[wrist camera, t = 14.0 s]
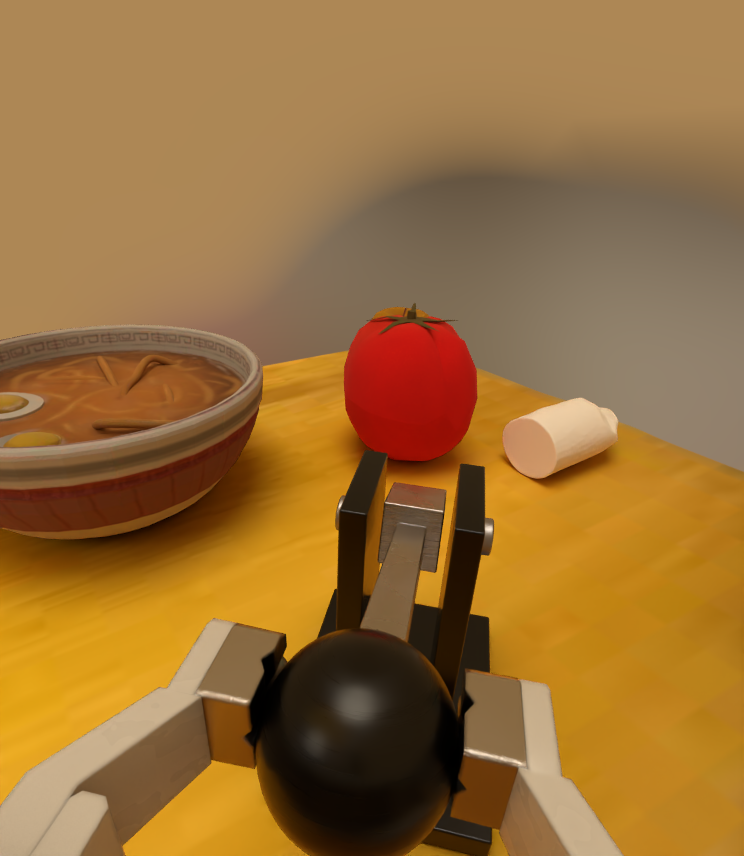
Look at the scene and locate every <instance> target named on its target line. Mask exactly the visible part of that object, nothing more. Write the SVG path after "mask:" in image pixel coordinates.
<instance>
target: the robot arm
mask: <svg viewBox="0 0 744 856" xmlns="http://www.w3.org/2000/svg"><path fill="white" fill-rule="evenodd" d="M286 647H287V643H286V634H283V633H279V632H275V631H270V630H266V629H262V628H257V627H253V626H248V625H244V624H240V623H235V622H230V621H225V620H221V619H216V618H213V619H212V620H211V621H210V622H209V623H208V624H207V625H206V626H205V628H204V629H203V631H202V633H201V634H200V636H199V637H198V639H197V641H196V642H195V644H194V645H193V647H192V649H191V650H190V652H189V653H188V655H187V657H186V658H185V660H184V661H183V663H182V664H181V666H180V668H179V669H178V671H177V672H176V674H175V676H174V677H173V679H172V680H171V682H170V684H169V685H168V687H167V688H161V687H159V688H157V689H156V690H154V691H153V692H151V693H149V694H148V695H146V696H145V697H143V698H142V699H140V700H138V701H137V702H135V703H134V704H132V705H131V706H129V707H127V708H126V709H124V710H123V711H121V712H120V713H118V714H117V715H115V716H113V717H112V718H110V719H109V720H107V721H106V722H104V723H102V724H101V725H99V726H98V727H96V728H95V729H93V730H91V731H90V732H88V733H87V734H85V735H84V736H82V737H81V738H79V739H77V740H76V741H74V742H73V743H71V744H70V745H68V746H66V747H65V748H63V749H62V750H60V751H59V752H57V753H55V754H54V755H52V756H51V757H49V758H48V759H46V760H45V761H43V762H41V763H40V764H38V765H37V766H35V767H34V768H32V769H30V770H29V771H27V772H26V773H25V774H24V776H23V777H22V778H21V780H20V781H19V782H18V783H17V785H16V786H15V787H14V789H13V790H12V791H11V792H10V794H9V795H8V796H7V798H6V799H5V800H4V801H3V803H2V804H1V805H0V856H126V855H125V852H124V849H123V845H124V844H125V843H126V842H127V841H128V840H129V839H130V838H131V837H132V836H134V835H135V834H136V833H137V832H138V831H139V830H140V829H141V828H142V827H143V826H144V825H145V824H146V823H148V822H149V821H150V820H151V819H152V818H153V817H154V816H155V815H156V814H157V813H158V812H159V811H160V810H162V809H163V808H164V807H165V806H166V805H167V804H168V803H169V802H170V801H171V800H172V799H173V798H174V797H175V796H177V795H178V794H179V793H180V792H181V791H182V790H183V789H184V788H185V787H186V786H187V785H188V784H189V783H191V782H192V781H193V780H194V779H195V778H196V777H197V776H198V775H199V774H200V773H201V772H202V771H203V770H205V769H206V768H207V767H208V766H209V765H210V764H211V760H214V761H219V762H224V763H228V764H233V765H238V766H243V767H247V768H252V769H255V767H256V765H257V764H256V737H257V729H258V723H259V718H260V715H261V711H262V708H263V705H264V701H265V699H266V697H267V695H268V692H269V690H270V688H271V686H272V684H273V682H274V681H275V679H276V678H277V676H278V675H279V673H280V672H281V670H282V669H283V667H284V666H285V665H286V664H287V661H286V659H285V658H284V657H283V654H284V652H285V649H286ZM456 715H457V720H458V724H459V735H460V740H459V766H458V772H457V777H456V782H455V786H454V790H453V793H452V796H451V816H450V817H454V818H457V819H461V820H465V821H468V822H472V823H476V824H479V825H483V826H486V827H490V828H494V829H497V830H500V831H499V834H500V836H501V838H502V841H503V843H504V845H505V847H506V849H507V852H508V854H509V856H624V855H623V854H622V853H621V851H620V850H619V848H618V847H617V845H616V844H615V842H614V841H613V839H612V838H611V836H610V835H609V834H608V832H607V831H606V829H605V828H604V826H603V825H602V823H601V822H600V820H599V819H598V818H597V816H596V815H595V813H594V812H593V810H592V809H591V807H590V806H589V804H588V803H587V802H586V800H585V799H584V797H583V796H582V794H581V793H580V791H579V790H578V788H577V787H576V785H575V784H574V783H573V781H572V780H571V779H568V778H564V777H562V771H561V764H560V757H559V750H558V743H557V736H556V729H555V722H554V715H553V708H552V700H551V693H550V689H549V687H548V686H547V684H542V683H537V682H532V681H527V680H522V679H519V680H518V678H515V677H509V676H504V675H498V674H493V673H488V672H482V671H477V670H471V669H466V668H465V670H464V674H463V679H462V691H461V696H460V697H459V700H458V706H457V713H456Z"/></svg>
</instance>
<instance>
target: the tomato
mask: <svg viewBox="0 0 744 856" xmlns="http://www.w3.org/2000/svg"><path fill="white" fill-rule="evenodd" d="M445 321H453V320H441V319H439V318H434V317H425V318H424V317H417V314H416V304H413V306H412V309H411V310H409V311H408V314H407V316H406V317H403V316H401V315H393V316H382V317H379V318H376V319H372V320H371V321H370V322H368V323H367V324H366V325H365V326H364V327H362V328H361V329H360V330H359V331H358V333H357V335H356V337H355V339H354V340H353V342H352V344H351V346H350V349H349V353H348V356H347V359H346V363H345V366H344V391H345V406H346V411H347V414H348V416H349V419H350V421H351V423H352V425H353V427H354V428H355V430H356V432H357V434H358V436H359V438H360V439H361V440H362V441H363V443H364V444H365V445H366V446H367V447H369V448H371V449H372V450H374V451H376V452H384V453H387V454H388V458H390V459H392V460H408V461H428V460H431V459H434V458H437V457H440V456H442V455H444V454H446V453H447V452H449V451H451V450H452V449H453V448H454V447H455V446H456V445H457V444H458V443H459V442H460V441H461V440H462V438H463V437H464V435H465V434H466V432H467V430H468V428H469V425H470V421H471V418H472V414H473V411H474V408H475V404H476V401H477V371H476V368H475V365H474V363H473V360H472V358H471V356H470V354H469V351H468V348H467V346H466V343H465V341H464V340H462V339H460V338H459V336H458V335H457V333H456V332H455V330H454V328H453V327H452V326H450V325H449V324H447V323H446V322H445ZM454 321H455V320H454Z"/></svg>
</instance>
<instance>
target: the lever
mask: <svg viewBox="0 0 744 856" xmlns="http://www.w3.org/2000/svg"><path fill="white" fill-rule="evenodd" d="M445 501H446V490H443V489H436V488H429V487H423V486H416V485H409V484H403V483H396V482H395V483H394V484H393V486H392V488H391V490H390V492H389V494H388V496H387V498H386V500H385V502H384V509H383V518H382V527H381V535H380V544H379V553H378V563H383V564H382V567H381V569H380V572H379V575H378V578H377V581H376V583H375V586H374V589H373V592H372V595H371V597H370V600H369V603H368V606H367V609H366V611H365V614H364V617H363V620H362V623H361V625H360V628H353V629H345V630H339V631H335V632H332V633H329V634H327V635H325V636H322V637H320V638H318V639H316V640H314V641H313V642H311V643H309V644H308V645H307V646H305V647H304V648H302V649H301V650H300V651H299V652H298V653H296V654H295V655H294V656H293V657H292V659H291V660H290V661H289V662H288V663H287V664H286V665H285V666H284V667H283V669H282V670H281V672H280V673H279V675H278V676H277V678H276V679H275V681H274V682H273V684H272V686H271V688H270V690H269V692H268V695H267V697H266V699H265V701H264V705H263V708H262V711H261V715H260V718H259V723H258V729H257V737H256V764H257V772H258V778H259V782H260V786H261V790H262V793H263V796H264V799H265V801H266V804H267V806H268V808H269V811H270V812H271V814H272V816H273V817H274V819H275V821H276V822H277V824H278V826H279V827H280V829H281V830H282V831H283V832H284V834H285V835H286V836H287V837H288V838H289V839H290V840H291V841H292V842H293V843H294V844H295V845H296V846H297V847H299V848H300V849H301V850H302V851H304V852H305V853H307V854H308V855H309V856H404V855H406V854H407V853H409V852H410V851H411V850H413V849H414V848H415V847H416V846H418V845H419V844H420V843H421V842H422V841H423V840H424V839H425V838H426V837H427V836H428V835H429V834H430V833H431V831H432V830H433V828H434V827H435V825H436V824H437V823H438V821H439V820H440V818H441V817H442V815H443V814H444V811H445V809H446V807H447V805H448V803H449V800H450V798H451V796H452V793H453V790H454V786H455V782H456V777H457V772H458V766H459V740H460V735H459V724H458V720H457V715H456V711H455V707H454V704H453V701H452V699H451V696H450V694H449V691H448V689H447V687H446V685H445V683H444V681H443V680H442V678H441V676H440V675H439V673H438V671H437V670H436V669H435V668H434V666H433V665H432V664H431V663H430V661H429V660H428V659H427V658H426V657H425V656H424V655H423V654H422V653H421V652H420V651H418V650H417V649H416V648H415V647H413V646H412V645H411V644H409V643H408V637H409V632H410V626H411V620H412V615H413V609H414V603H415V598H416V592H417V586H418V581H419V575H420V570H423V571H428V572H434V573H435V572H436V570H437V563H438V556H439V548H440V541H441V534H442V527H443V519H444V512H445Z"/></svg>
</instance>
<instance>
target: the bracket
mask: <svg viewBox="0 0 744 856" xmlns="http://www.w3.org/2000/svg"><path fill="white" fill-rule="evenodd" d="M387 459H388V454H387V453H384V452H376V451H369V450H365V451H364V454H363V456H362V458H361V461H360V463H359V465H358V468H357V470H356V472H355V475H354V477H353V479H352V482H351V484H350V486H349V489H348V491H347V493H346V496H345V495H343V496H341V498H340V500H339V503H338V507H337V511H336V519H335V526H336V529H337V530H339V535H338V575H337V589H335V590H334V593H333V595H332V598H331V601H330V604H329V607H328V609H327V612H326V615H325V618H324V621H323V623H322V626H321V629H320V632H319V635H318V637H317V639H318V638H320V637H322V636H325V635H327V634H329V633H332V632H335V631H339V630H345V629H353V628H360V625H361V623H362V620H363V617H364V614H365V611H366V609H367V606H368V603H369V600H370V597H371V595H372V592H373V589H374V586H375V583H376V581H377V578H378V575H379V566H380V563H378V553H379V544H380V535H381V527H382V518H383V509H384V499H385V485H386V472H387ZM493 534H494V520H493V519H491V518H485V467H483V466H476V465H469V464H460V468H459V475H458V481H457V488H456V494H455V501H454V508H453V514H452V521H451V527H450V534H449V540H448V547H447V553H446V560H445V567H444V573H443V580H442V586H441V593H440V599H439V606H438V608H436V607H430V606H425V605H420V604H414V609H413V615H412V620H411V626H410V632H409V637H408V643H409V644H411V645H412V646H413V647H415V648H416V649H417V650H418V651H420V652H421V653H422V654H423V655H424V656H425V657H426V658H427V659H428V660H429V661H430V663H431V664H432V665H433V666H434V668H435V669H436V670H437V671H438V673H439V675H440V676H441V678H442V680H443V681H444V683H445V685H446V687H447V689H448V691H449V694H450V696H451V699H452V701H453V704H454V707H455V711H456V713H457V706H458V700H459V697H460V696H461V691H462V679H463V674H464V670H465V668H466V669H471V670H477V671H482V672H488V673H490V652H489V618H488V617H484V616H479V615H473V614H470V610H471V605H472V599H473V594H474V589H475V584H476V579H477V574H478V568H479V563H480V558H481V555H487V556H488V555H489V554H490V552H491V548H492V542H493ZM450 816H451V798H450V800H449V803H448V805H447V807H446V809H445V811H444V814H443V815H442V817H441V818H440V820H439V821H438V823H437V824H436V825H435V827H434V828H433V830H432V831H431V833H430V834H429V835H428V836H427V837H426V838H425V839H424V840H423V841H422V842H423V843H427V844H431V845H435V846H438V847H442V848H446V849H450V850H454V851H458V852H462V853H466V854H470V855H473V856H488V854H489V851H490V848H491V844H492V828H490V827H486V826H483V825H479V824H476V823H472V822H468V821H465V820H461V819H457V818H454V817H450Z"/></svg>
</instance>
